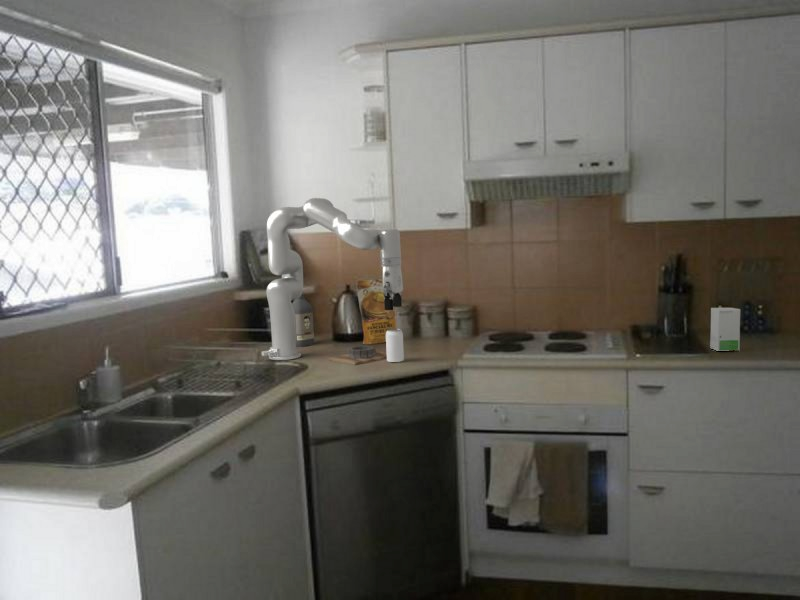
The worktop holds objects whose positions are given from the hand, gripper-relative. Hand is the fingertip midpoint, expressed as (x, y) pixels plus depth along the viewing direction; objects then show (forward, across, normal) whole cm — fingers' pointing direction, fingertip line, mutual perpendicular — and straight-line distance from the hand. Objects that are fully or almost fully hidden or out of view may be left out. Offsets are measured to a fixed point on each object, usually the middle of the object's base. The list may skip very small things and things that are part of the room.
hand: (393, 308), depth 253 cm
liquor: (+20, +30, +54) cm, 64 cm away
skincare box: (+21, +32, -116) cm, 122 cm away
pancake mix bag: (+20, +38, +21) cm, 48 cm away
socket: (+20, +4, +15) cm, 25 cm away
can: (+20, 0, 0) cm, 20 cm away
